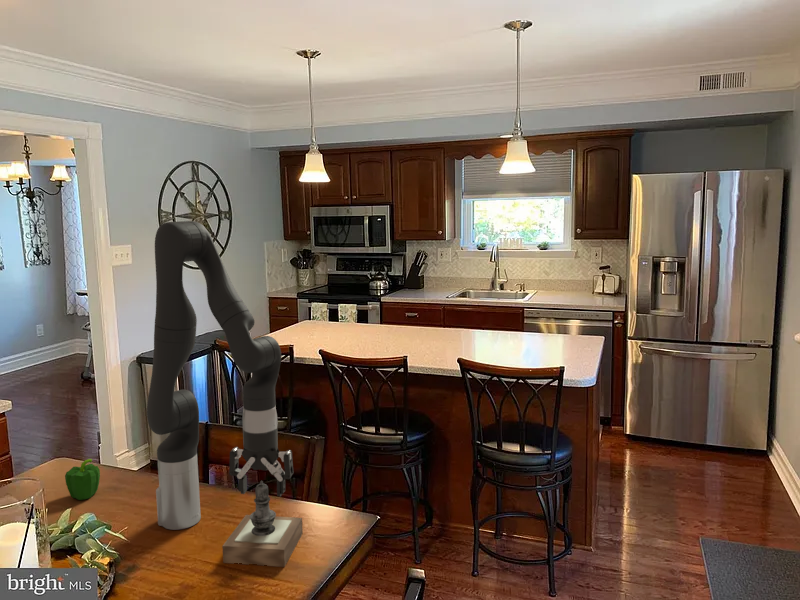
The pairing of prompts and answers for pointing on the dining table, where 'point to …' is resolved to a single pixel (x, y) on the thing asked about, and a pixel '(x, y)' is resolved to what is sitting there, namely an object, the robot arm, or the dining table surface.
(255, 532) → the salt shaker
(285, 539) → the base block
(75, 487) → the bell pepper
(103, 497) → the dining table surface
